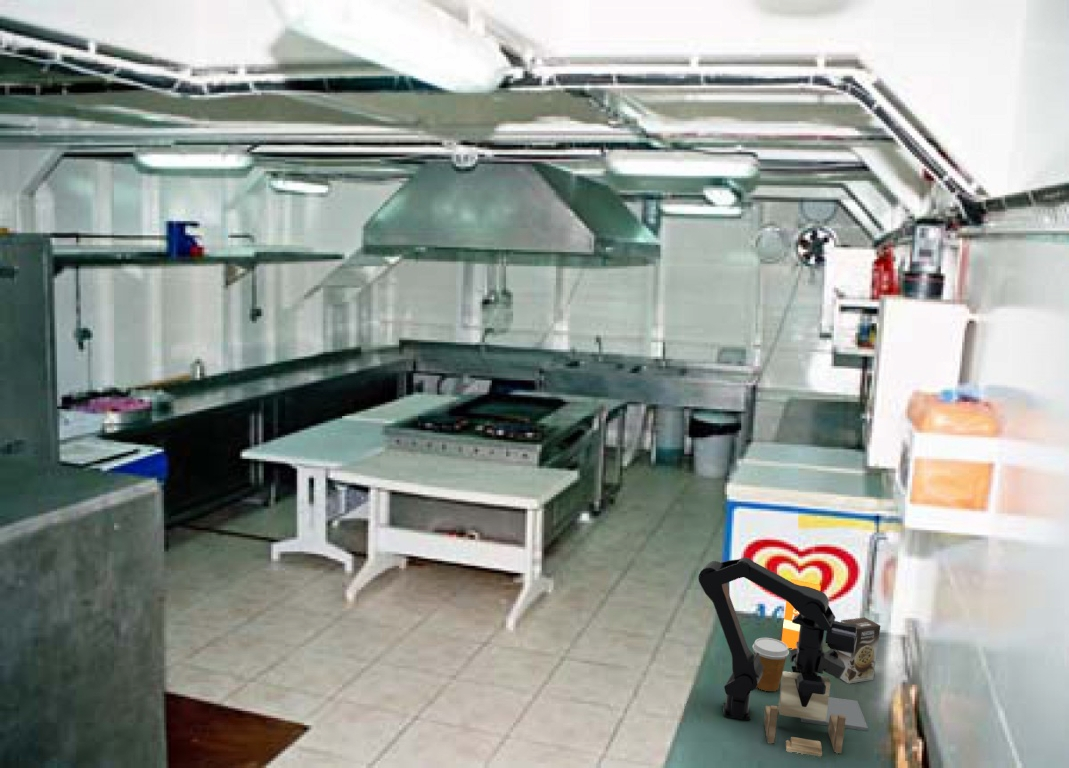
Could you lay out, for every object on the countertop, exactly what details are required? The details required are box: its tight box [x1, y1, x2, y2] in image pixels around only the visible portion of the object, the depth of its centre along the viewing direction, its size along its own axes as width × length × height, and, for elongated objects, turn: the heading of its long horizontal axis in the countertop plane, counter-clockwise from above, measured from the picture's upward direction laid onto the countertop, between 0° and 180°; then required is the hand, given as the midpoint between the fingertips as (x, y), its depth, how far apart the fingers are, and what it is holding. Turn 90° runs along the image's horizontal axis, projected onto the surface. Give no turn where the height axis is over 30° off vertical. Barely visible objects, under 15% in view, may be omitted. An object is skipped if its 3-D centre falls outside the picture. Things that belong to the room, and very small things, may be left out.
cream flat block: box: [777, 670, 831, 721], centre depth 226 cm, size 3×11×10 cm, turn 81°
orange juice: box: [781, 578, 821, 650], centre depth 275 cm, size 8×9×20 cm
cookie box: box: [836, 617, 881, 685], centre depth 257 cm, size 9×6×16 cm
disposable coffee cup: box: [752, 637, 790, 692], centre depth 248 cm, size 10×10×12 cm
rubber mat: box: [800, 696, 869, 732], centre depth 237 cm, size 14×16×1 cm
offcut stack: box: [785, 736, 823, 757], centre depth 218 cm, size 4×8×2 cm, turn 78°
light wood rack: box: [763, 705, 846, 754], centre depth 223 cm, size 10×17×9 cm, turn 81°
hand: (803, 703), depth 226 cm, fingers closed on cream flat block, 3 cm apart
